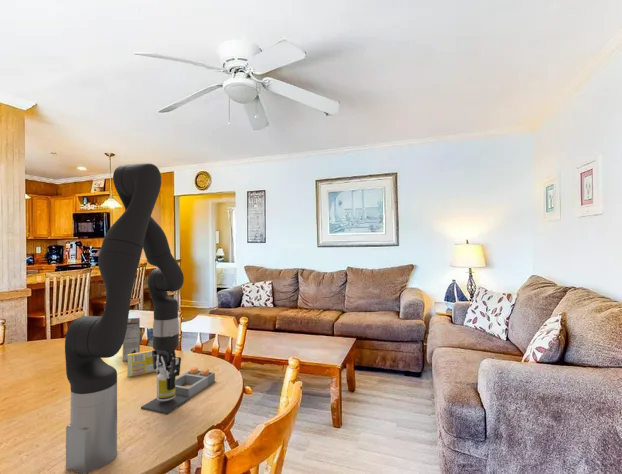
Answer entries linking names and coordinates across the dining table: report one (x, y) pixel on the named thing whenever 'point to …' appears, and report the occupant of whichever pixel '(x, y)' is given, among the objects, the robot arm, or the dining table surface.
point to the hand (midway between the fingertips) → (166, 386)
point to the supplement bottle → (164, 386)
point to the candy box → (140, 363)
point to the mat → (165, 404)
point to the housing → (193, 383)
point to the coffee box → (132, 338)
